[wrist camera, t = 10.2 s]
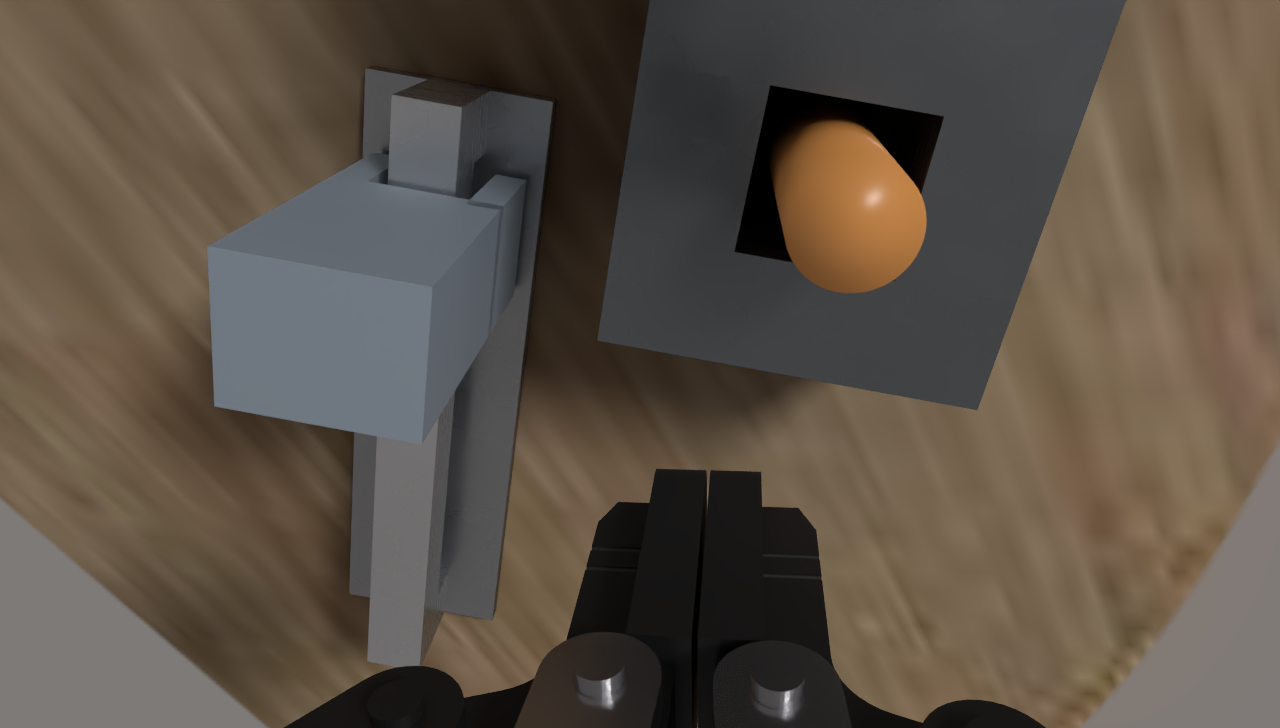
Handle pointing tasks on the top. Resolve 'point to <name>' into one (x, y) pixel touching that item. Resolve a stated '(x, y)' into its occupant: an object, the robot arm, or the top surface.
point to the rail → (486, 396)
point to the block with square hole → (907, 128)
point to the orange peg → (842, 199)
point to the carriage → (361, 301)
